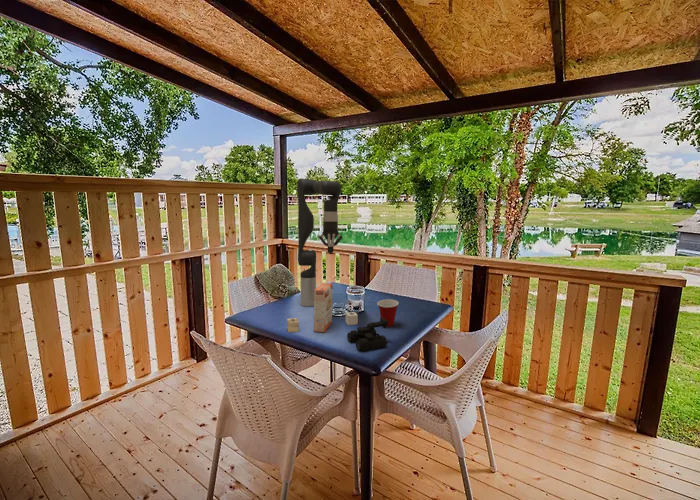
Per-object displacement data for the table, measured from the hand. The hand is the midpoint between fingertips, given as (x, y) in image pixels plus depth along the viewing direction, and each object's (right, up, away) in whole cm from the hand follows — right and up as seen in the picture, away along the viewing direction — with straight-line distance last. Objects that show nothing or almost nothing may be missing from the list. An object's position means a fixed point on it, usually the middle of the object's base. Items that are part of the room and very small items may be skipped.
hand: (330, 253), depth 169 cm
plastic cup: (+29, -37, -4) cm, 47 cm away
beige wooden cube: (+11, -36, -2) cm, 38 cm away
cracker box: (-3, -37, -8) cm, 38 cm away
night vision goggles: (+19, -40, -26) cm, 51 cm away
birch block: (-17, -37, -12) cm, 43 cm away
